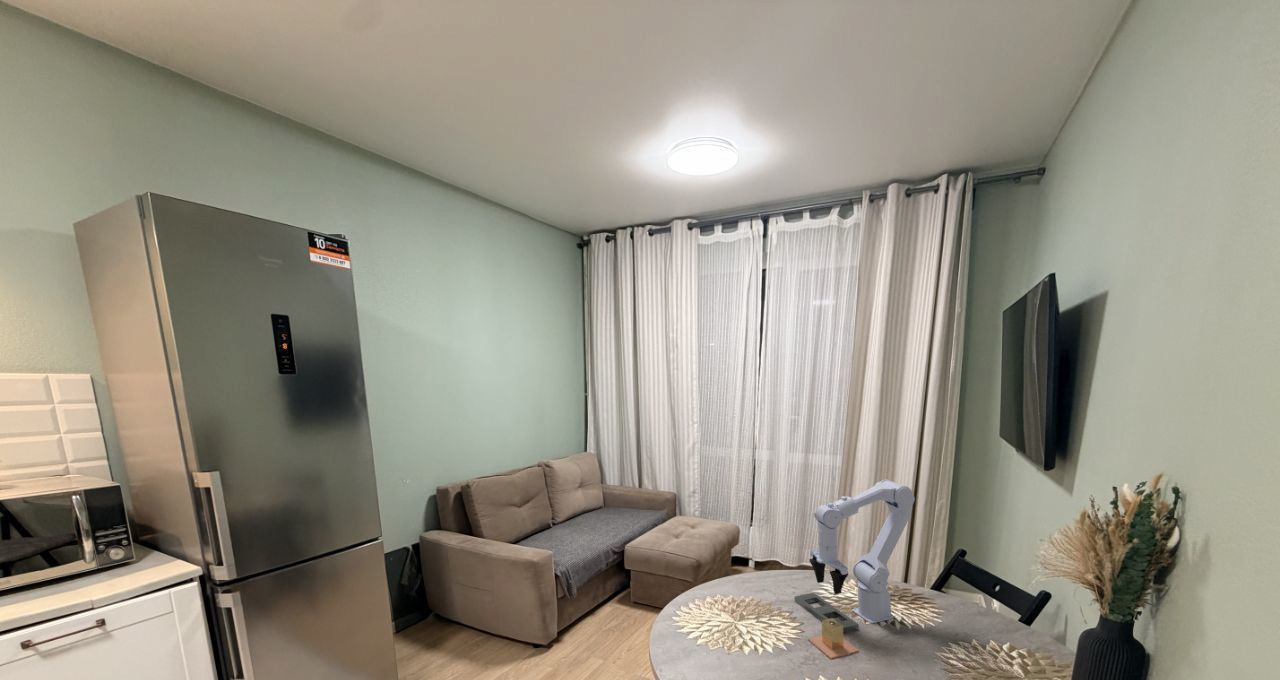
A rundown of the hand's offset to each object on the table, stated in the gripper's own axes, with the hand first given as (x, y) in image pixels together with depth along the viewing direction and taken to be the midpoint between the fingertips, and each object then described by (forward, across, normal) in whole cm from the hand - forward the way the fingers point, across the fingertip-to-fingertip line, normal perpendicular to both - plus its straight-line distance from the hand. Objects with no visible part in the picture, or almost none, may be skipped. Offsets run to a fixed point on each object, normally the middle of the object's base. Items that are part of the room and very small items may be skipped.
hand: (828, 587), depth 143 cm
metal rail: (+9, -2, 0) cm, 10 cm away
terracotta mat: (+9, +12, -10) cm, 18 cm away
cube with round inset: (+9, +12, -10) cm, 18 cm away
